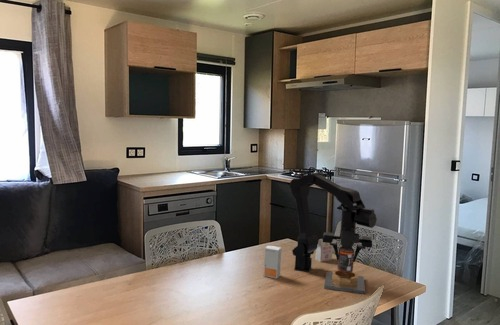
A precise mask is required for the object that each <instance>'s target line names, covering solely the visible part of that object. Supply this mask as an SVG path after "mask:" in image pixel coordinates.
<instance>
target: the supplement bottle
mask: <svg viewBox="0 0 500 325" xmlns="http://www.w3.org/2000/svg"><path fill="white" fill-rule="evenodd" d="M354 249H355V248H353V246H347V245H344V246H343V245H341V246H340V247H338V260H337V270H339V271H340V272H344V273H350V272H352V271H353V270H354V262H353V261H354V253H355V250H354ZM353 272H354V271H353Z"/></svg>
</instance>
